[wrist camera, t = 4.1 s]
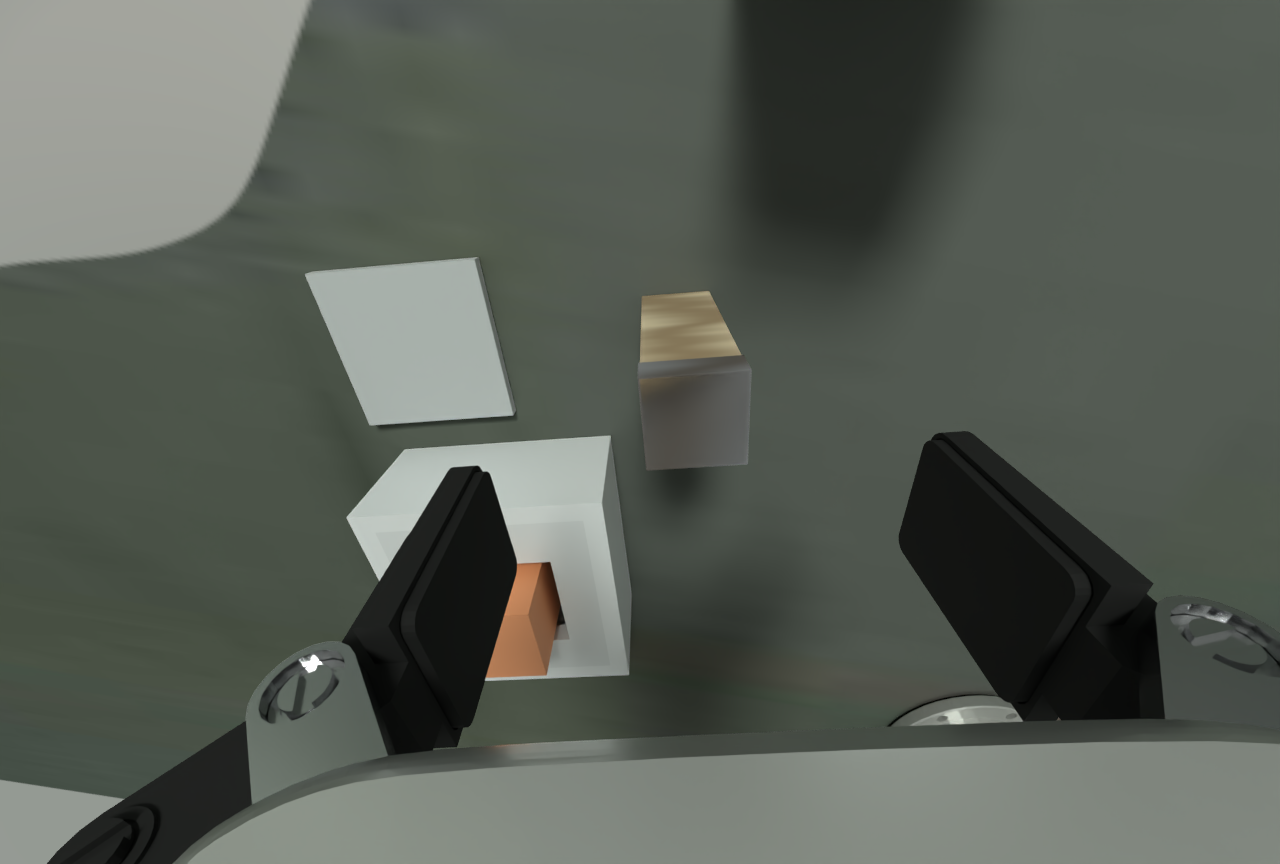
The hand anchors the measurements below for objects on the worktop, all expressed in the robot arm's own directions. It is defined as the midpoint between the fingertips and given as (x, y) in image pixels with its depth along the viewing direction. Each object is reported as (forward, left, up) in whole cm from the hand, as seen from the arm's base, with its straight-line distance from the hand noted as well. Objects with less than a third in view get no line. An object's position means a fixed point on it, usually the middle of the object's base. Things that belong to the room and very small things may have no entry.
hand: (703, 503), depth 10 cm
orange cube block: (+10, +13, -11) cm, 19 cm away
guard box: (+10, +13, -14) cm, 22 cm away
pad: (+13, 0, -14) cm, 19 cm away
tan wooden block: (0, 0, -14) cm, 14 cm away
